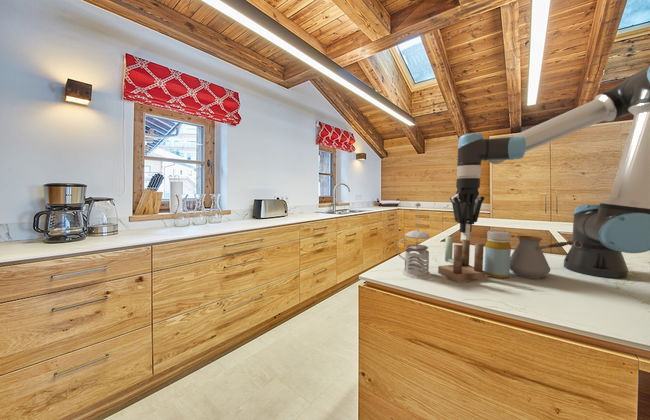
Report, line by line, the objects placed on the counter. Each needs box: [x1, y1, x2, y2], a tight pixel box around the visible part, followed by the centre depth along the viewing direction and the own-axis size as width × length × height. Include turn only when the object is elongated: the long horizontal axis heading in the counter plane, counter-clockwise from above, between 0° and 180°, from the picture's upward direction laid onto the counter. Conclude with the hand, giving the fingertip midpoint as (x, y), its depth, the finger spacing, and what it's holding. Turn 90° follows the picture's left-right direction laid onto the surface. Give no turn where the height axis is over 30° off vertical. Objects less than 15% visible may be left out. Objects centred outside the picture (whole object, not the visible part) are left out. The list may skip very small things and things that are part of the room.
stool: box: [437, 240, 487, 283], centre depth 82 cm, size 11×9×12 cm
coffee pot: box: [510, 235, 582, 279], centre depth 78 cm, size 21×12×15 cm, turn 3°
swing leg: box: [444, 236, 454, 265], centre depth 88 cm, size 7×2×9 cm, turn 11°
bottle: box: [483, 229, 512, 279], centre depth 82 cm, size 7×7×15 cm
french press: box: [396, 202, 432, 280], centre depth 85 cm, size 10×12×25 cm
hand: (465, 241), depth 92 cm, fingers closed
